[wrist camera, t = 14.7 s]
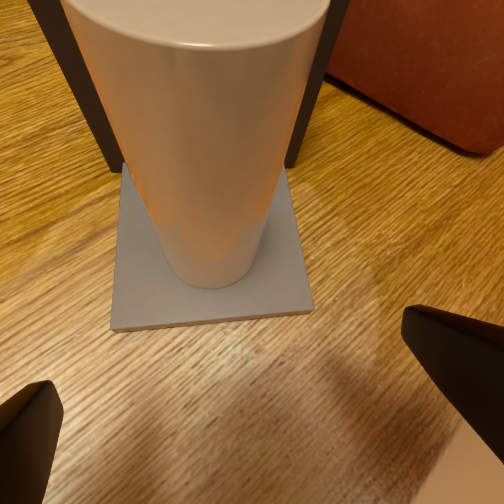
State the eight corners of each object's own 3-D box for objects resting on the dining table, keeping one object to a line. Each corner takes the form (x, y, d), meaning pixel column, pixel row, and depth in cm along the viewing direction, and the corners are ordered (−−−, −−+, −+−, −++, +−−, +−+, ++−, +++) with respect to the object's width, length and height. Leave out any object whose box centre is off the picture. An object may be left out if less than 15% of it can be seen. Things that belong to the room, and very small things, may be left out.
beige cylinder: (192, 307, 16) (122, 84, 4) (147, 229, 18) (5, -86, 6) (275, 259, 18) (388, 5, 6) (226, 192, 19) (240, -109, 8)
